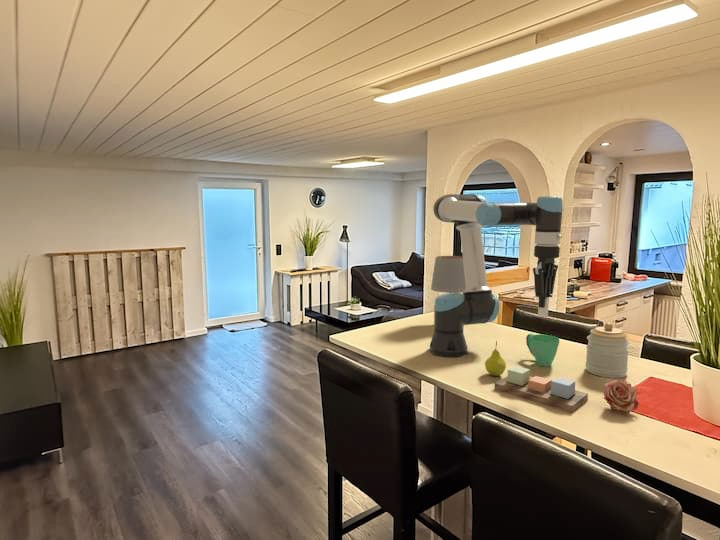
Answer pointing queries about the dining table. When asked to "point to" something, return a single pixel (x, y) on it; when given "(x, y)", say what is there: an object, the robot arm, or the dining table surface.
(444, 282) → the lamp
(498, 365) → the fruit
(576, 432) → the dining table surface
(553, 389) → the button slate
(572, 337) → the dining table surface
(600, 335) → the jar
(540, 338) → the mug
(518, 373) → the button sage
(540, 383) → the button terracotta
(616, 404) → the flower
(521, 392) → the button board
